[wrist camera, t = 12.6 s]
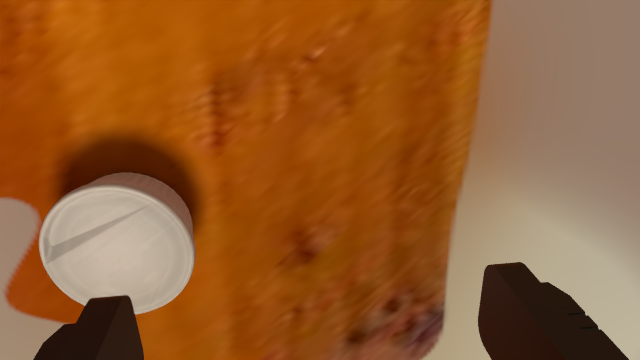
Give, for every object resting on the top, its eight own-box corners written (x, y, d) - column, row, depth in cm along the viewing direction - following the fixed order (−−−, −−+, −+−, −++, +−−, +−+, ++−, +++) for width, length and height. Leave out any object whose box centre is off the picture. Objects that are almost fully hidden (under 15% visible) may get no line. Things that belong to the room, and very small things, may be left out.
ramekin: (92, 135, 37) (66, 160, 32) (225, 194, 40) (219, 225, 36) (46, 247, 41) (16, 284, 36) (171, 293, 44) (160, 333, 39)
